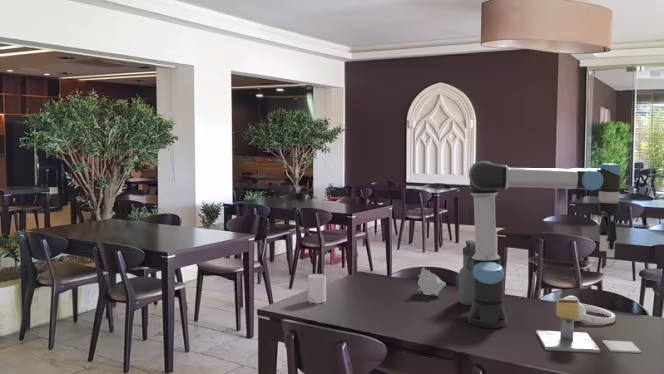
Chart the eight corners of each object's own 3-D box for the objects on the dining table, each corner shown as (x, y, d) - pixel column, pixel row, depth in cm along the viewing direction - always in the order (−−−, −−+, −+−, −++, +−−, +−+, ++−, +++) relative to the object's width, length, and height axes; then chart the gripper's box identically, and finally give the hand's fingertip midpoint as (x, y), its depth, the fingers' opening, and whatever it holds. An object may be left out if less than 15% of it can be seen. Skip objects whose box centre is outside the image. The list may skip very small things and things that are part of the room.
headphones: (566, 323, 237) (620, 331, 233) (569, 303, 236) (623, 311, 232) (558, 309, 256) (607, 316, 252) (560, 291, 255) (610, 298, 251)
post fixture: (545, 349, 207) (546, 322, 206) (536, 333, 225) (537, 307, 224) (599, 352, 204) (601, 324, 203) (586, 335, 222) (587, 309, 221)
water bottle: (484, 305, 262) (485, 243, 260) (462, 306, 261) (463, 243, 259) (476, 299, 272) (478, 239, 270) (456, 300, 271) (457, 239, 269)
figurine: (448, 293, 284) (424, 283, 292) (448, 269, 276) (423, 259, 284) (436, 305, 277) (412, 294, 285) (436, 281, 270) (411, 270, 278)
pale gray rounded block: (301, 305, 263) (301, 279, 262) (311, 298, 274) (311, 273, 273) (318, 307, 260) (318, 280, 259) (328, 300, 271) (328, 274, 270)
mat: (610, 351, 205) (610, 349, 205) (602, 341, 215) (602, 340, 215) (641, 353, 204) (641, 351, 204) (631, 343, 214) (631, 341, 214)
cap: (558, 318, 211) (559, 301, 210) (554, 312, 218) (554, 296, 218) (581, 319, 209) (581, 302, 209) (575, 313, 217) (576, 297, 216)
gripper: (626, 205, 225) (624, 260, 227) (612, 199, 249) (609, 248, 251) (605, 204, 227) (603, 259, 228) (592, 198, 251) (590, 248, 253)
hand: (606, 254), depth 240 cm, fingers open, 13 cm apart
